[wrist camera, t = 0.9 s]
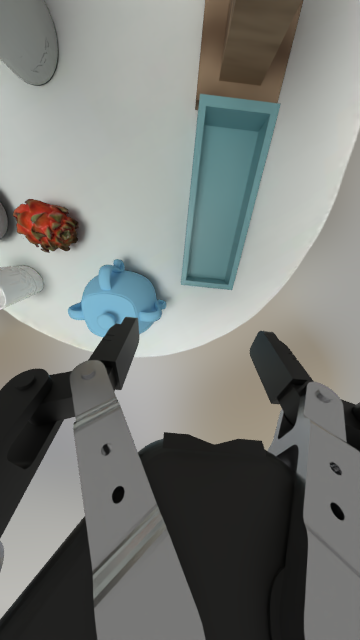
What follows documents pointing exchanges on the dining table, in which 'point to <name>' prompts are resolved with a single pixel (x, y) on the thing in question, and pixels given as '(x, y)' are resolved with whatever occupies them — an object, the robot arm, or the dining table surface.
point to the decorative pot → (117, 300)
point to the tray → (224, 186)
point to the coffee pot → (3, 221)
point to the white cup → (18, 284)
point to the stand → (246, 48)
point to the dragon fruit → (46, 225)
